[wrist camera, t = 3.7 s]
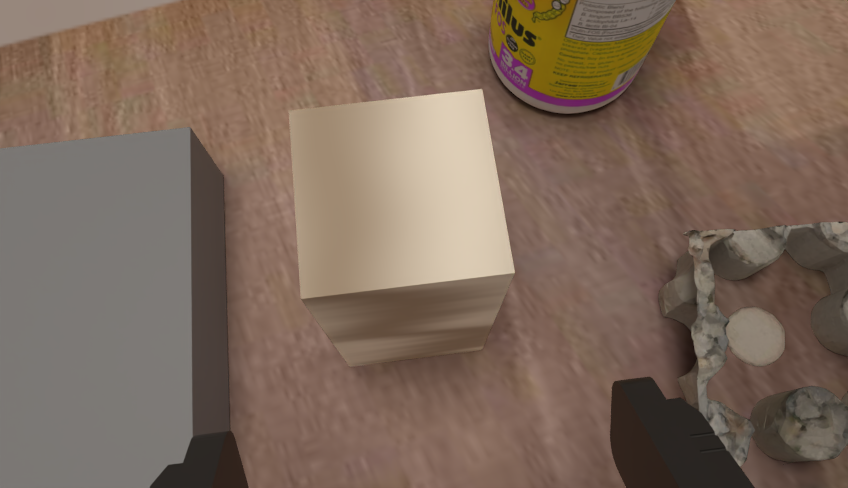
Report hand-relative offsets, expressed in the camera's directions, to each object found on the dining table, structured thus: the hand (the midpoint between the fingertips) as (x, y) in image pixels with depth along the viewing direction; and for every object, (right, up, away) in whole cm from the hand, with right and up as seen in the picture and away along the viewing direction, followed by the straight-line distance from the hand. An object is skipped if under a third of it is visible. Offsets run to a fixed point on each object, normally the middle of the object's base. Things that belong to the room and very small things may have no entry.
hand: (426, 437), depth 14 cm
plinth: (-14, +1, +11) cm, 18 cm away
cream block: (-1, +2, +12) cm, 12 cm away
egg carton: (+13, -1, +11) cm, 17 cm away
